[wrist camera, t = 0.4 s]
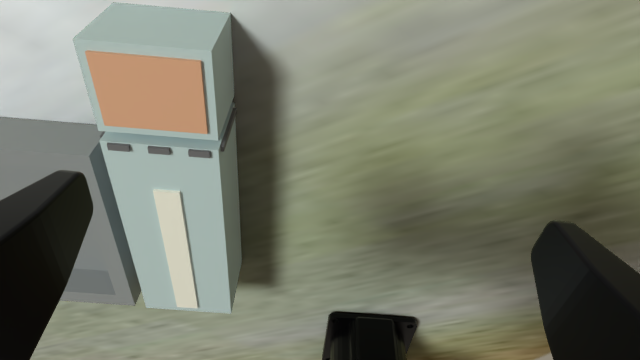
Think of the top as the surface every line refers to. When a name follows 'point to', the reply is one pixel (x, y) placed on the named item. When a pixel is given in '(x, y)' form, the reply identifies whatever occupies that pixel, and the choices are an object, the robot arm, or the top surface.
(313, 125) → the top surface
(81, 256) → the tray
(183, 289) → the striped slotted box
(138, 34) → the stub
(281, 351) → the top surface
